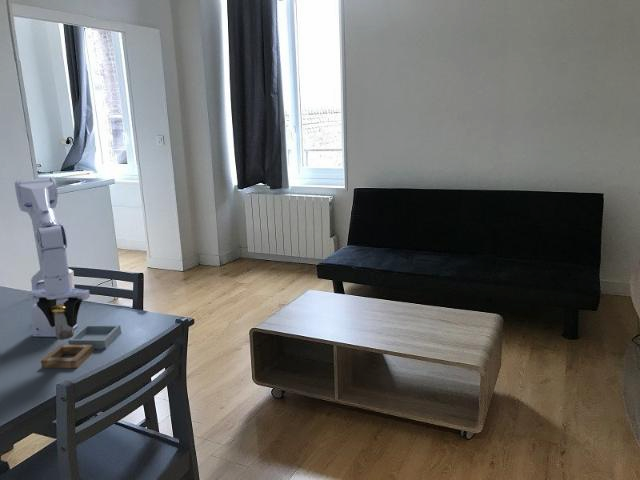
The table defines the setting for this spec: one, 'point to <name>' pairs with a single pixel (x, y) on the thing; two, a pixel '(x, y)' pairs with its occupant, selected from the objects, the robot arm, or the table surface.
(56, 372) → the table surface
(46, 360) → the socket block
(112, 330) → the tray
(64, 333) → the jar with gold lid
